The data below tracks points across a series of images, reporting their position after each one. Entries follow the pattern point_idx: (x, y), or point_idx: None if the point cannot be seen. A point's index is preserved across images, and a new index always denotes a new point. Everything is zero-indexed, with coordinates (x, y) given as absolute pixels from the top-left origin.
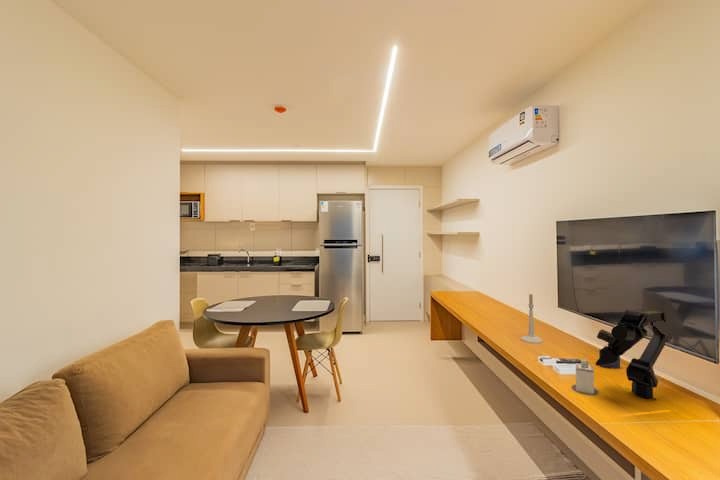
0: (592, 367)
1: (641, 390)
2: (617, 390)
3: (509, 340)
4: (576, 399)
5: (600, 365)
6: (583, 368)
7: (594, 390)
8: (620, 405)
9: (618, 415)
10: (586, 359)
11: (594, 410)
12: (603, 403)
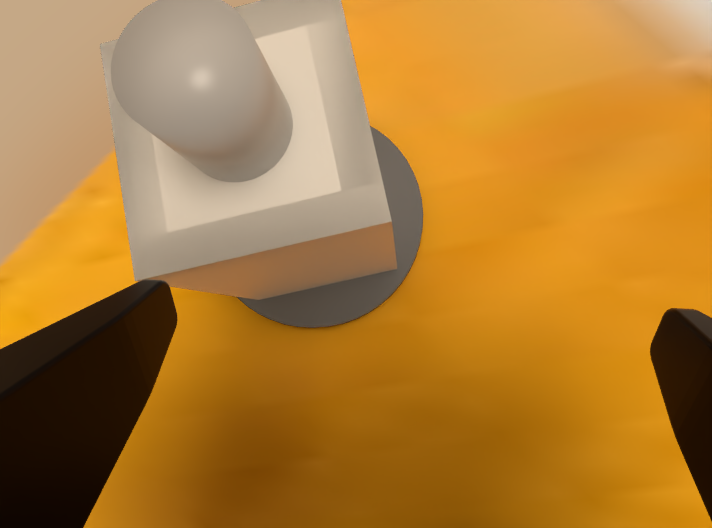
0: (289, 230)
1: None
2: (561, 444)
3: None
4: (120, 206)
5: None
6: (148, 133)
7: (348, 287)
8: (226, 505)
9: None
10: (248, 82)
11: None
12: (177, 387)
